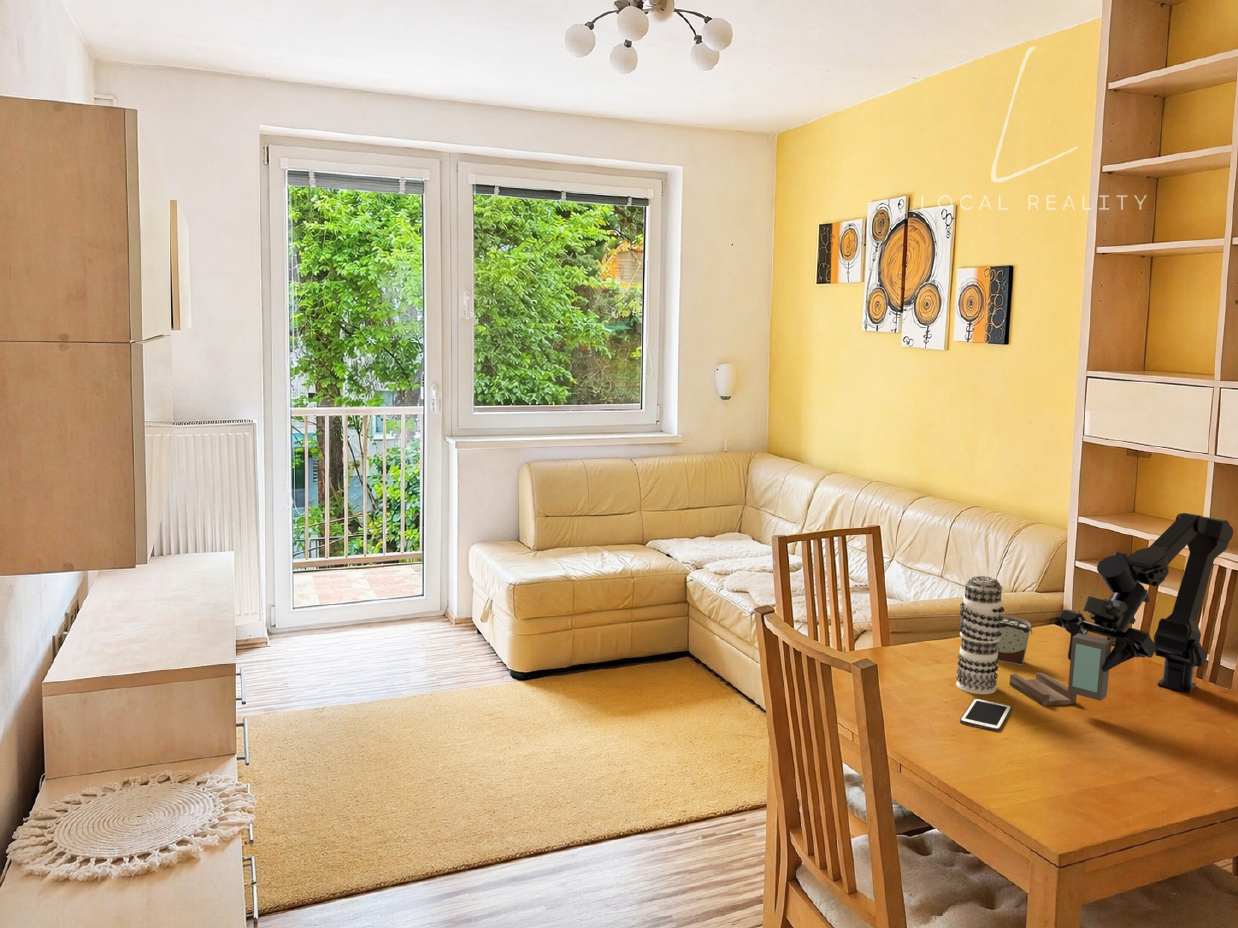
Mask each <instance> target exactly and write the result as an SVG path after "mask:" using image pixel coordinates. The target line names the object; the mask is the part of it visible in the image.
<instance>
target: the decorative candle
mask: <svg viewBox="0 0 1238 928" xmlns="http://www.w3.org/2000/svg"><path fill="white" fill-rule="evenodd" d="M963 584H964V587H965V588H964V589H965V590H964V596H963V600H962V602H961V603H960V605H959V606H960V610H959V615H960V616H961V618H960V619H959V624H960V625H959V628H958V630H959V631H960V632H959V635H960V637H961V639H960V640H961V641H960V644H961V645H960V647H959V654H958V655H957V658H958V660H957V665H958V667H957V668H956V673H957V675H956V676H955V677H956V678H955V679H956V682H955V684H956V687H957V688H958V689H959V690H961V691H964V692H967V693H971V694H976V695H991V694H994V693H995V692H996V691H997V687H996V686H997V685H998V684H997V683H998V680H997V679H998V673H997V671H998V670H999V669H998V668H999V666H998V664H999V662H1000V661H999V660H998V659H997V657H998V651H997V645H998V642H999V640H1000V637H999V636H1001V632H999V631H998V628H1000V627H1002V623H1000V622H999V621H1001V620H1003V617H1002V616H1001V615H1002V614H1000V613H1003V612H1005V608H1004V607H1003V606H1002V605H1003V604H1002V603H1003V601H1002V592H1003V590H1004V586H1003V585H1001V584H1000V582H999V581H998V579H997V578H994V577H991V576H985V575H984V576H983V575H977V576H971V578H969V580H968V581H965V582H964V583H963Z"/></svg>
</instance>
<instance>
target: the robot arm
mask: <svg viewBox="0 0 1238 928" xmlns="http://www.w3.org/2000/svg"><path fill="white" fill-rule="evenodd" d="M1233 536H1234V528H1233V526H1231V525H1230V523H1229V521H1228V520H1225V519H1219V518H1215V517H1214V518H1213V517H1208V516H1202V515H1200V514H1193V513H1187V512H1182V513H1178V514H1177V515H1176V517H1175V520H1174V522H1173V523H1172V524H1171V525H1170V526H1169V527H1168V528H1166V529H1165V531H1164V532H1163V533H1161V535H1160V536H1159V537H1158V538H1156V540H1155V541H1154V542H1153V543H1152V544H1151V545H1149V546H1148V547H1144V548H1140V549H1137V550H1135V551H1134V552H1133V553H1131V554H1130V555H1127V554H1126V553H1125V552H1119V551H1116V552H1115V553H1114V555H1109V556H1106V557H1104V558H1103V559H1101V560H1100V561H1099V562H1098V563H1097V566H1096V571H1097V573H1098V574H1099V576H1100V577H1101V579H1102V581H1103V582H1104V585H1106V588H1107V589H1108V590H1109V591H1110V592H1112V593H1111V595H1110V596H1109V598H1108V599H1107V598H1103V599H1102V598H1098V597H1093V596H1089V595H1088V596H1087V599H1086V601H1085V604H1084V607H1083V611H1084V612H1087V613H1090V615H1089V617H1090V619H1091V620H1093V621H1094V622H1091V621H1088V620H1086V618H1085V617H1084V615H1083V614H1082V612H1077V611H1075V610H1074V611H1073V610H1070V609H1063V610H1061V612H1060V613H1059V615H1058V617H1057V618H1058V620H1059V621H1060V623H1061V624H1062V626H1063V627H1064V629H1065V631H1066V632H1068V633H1069V634H1070V641H1069V647H1068V652H1067V659H1068V660H1069V661H1070V660H1071V648H1072V637H1073V636H1075V635H1076V634H1078V633H1080V634H1085V635H1088V633H1093V634H1096V635H1100V636H1103V637H1107V638H1110V639H1114V640H1115V642H1114V643H1115V644H1114V647H1113V648H1112V649H1111V653H1110V654H1109V656H1108V658H1107V659H1106V661H1105V662H1104V664H1103V666H1102V671H1103V672H1106V671H1108V670H1109V671H1110V670H1111V669H1113V668H1115V667H1117V666H1119V665H1120V664H1122V663H1125V662H1127V661H1129V660H1131V659H1134V658H1137V659H1138V658H1140V657H1141V656H1143V657H1146V658H1149V659H1150V658H1153V656H1154V654H1155V657H1156V656H1157V657H1159V658H1163V659H1164V662H1163V663H1164V664H1163V673H1162V678H1161V679H1160V680H1159V681H1158V682H1157V686H1160V687H1162V688H1163V687H1164V688H1166V689H1167V688H1168V689H1171V690H1176V691H1180V692H1185V693H1191V692H1192V691H1193V690H1194V689H1195V688H1196V687H1197V683H1196V682H1193V678H1194V677H1193V675H1194V668H1195V667H1198V668H1199V667H1204V666H1203V665H1204V664H1205V662H1206V658H1207V653H1206V652H1205V650H1204V648H1203V646H1202V644H1201V636H1202V633H1201V631H1200V628H1199V625H1198V622H1197V619H1198V616H1199V613H1200V609H1201V606H1202V602H1203V600H1204V596H1205V592H1206V589H1207V586H1208V582H1209V579H1210V576H1211V572H1212V569H1213V565H1214V562H1215V559H1216V558H1217V557H1219V556H1220V555H1222V554H1223V553H1224V552H1225V551H1226V550H1227V548H1228V545H1229V543H1230V541H1231V540H1232V539H1233ZM1185 547H1187V548H1188V551H1189V555H1188V558H1187V561H1186V564H1185V568H1184V571H1183V575H1182V578H1181V582H1180V585H1179V588H1178V592H1177V595H1176V597H1175V598H1176V599H1175V601H1174V605H1173V609H1172V612H1171V614H1169V615H1168V616H1167V617H1166V618H1164V617H1163V618H1162V617H1161V618H1160V620H1159V621H1158V625H1157V629H1156V631H1155V633H1154V636H1153V639H1152V638H1151V635H1150V634H1149V633H1148V632H1147V631H1144V630H1140V629H1137V628H1133V627H1129V625H1130V624H1132V625H1134V624H1135V623H1136V621H1137V620H1136V619H1135V615H1136V614H1137V612H1138V610H1139V609H1140V607H1141V606H1142V604H1143V603H1147V604H1148V603H1149V602H1150V596H1149V593H1148V591H1149V590H1148V589H1146V588H1145V587H1144V585H1148V586H1152V587H1158V586H1160V585H1161V584H1162V583H1163V582H1165V580H1166V578H1167V576H1168V574H1169V573H1170V570H1169V564H1171V562H1172V561H1173V560H1174V558H1176V557H1177V555H1179V554H1180V553H1181V552H1182V551H1183V550H1184V549H1185ZM1128 627H1129V628H1128Z"/></svg>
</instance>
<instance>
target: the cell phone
mask: <svg viewBox="0 0 1238 928" xmlns="http://www.w3.org/2000/svg"><path fill="white" fill-rule="evenodd" d="M1011 711H1012V705H1010V704H1006V703H1003V702H1002V703H1001V702H997V701H992V700H989V699H984V698H979V697H978V698H977V697H975V698H973V699H972V701H971V702H970V704H969V705H968V706H967V708H966V710H965V711H964V712H963V714H962V716H961V717H960V719H959V723H960V724H962V725H965V726H970V727H972V728H973V727H974V728H975V727H976V728H979V729H982V730H986V731H990V732H997V733H998V732H1000V731H1001V730H1002V728H1003V726H1004V724H1005V722H1006V721H1007V719H1008V717H1009V715H1010V713H1011Z"/></svg>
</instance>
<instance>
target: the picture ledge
mask: <svg viewBox="0 0 1238 928" xmlns="http://www.w3.org/2000/svg"><path fill="white" fill-rule="evenodd" d="M1009 685H1010V687H1011V688H1014V689H1015V690H1016V691H1018V692H1020V693H1022V694H1023V695H1025V696H1026V697H1028V698H1029V699H1031V700H1033V702H1035V703H1037V704H1039V705H1041V706H1042V707H1046V706H1047V707H1048V706H1060V705H1063V706H1064V705H1075V704H1077V696H1078V695H1077V694H1073V693H1069V692H1068V686H1066V685H1064V684H1063V683H1061V682H1060V681H1058V680H1056V679H1054V678H1053V677H1051V676H1049V675H1048V674H1046V673H1044V672H1036V673H1035V678H1034V679H1031V678H1030V679H1025V678H1024V677H1022V676H1020V675H1019V674H1018V673H1011V674H1009Z"/></svg>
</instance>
